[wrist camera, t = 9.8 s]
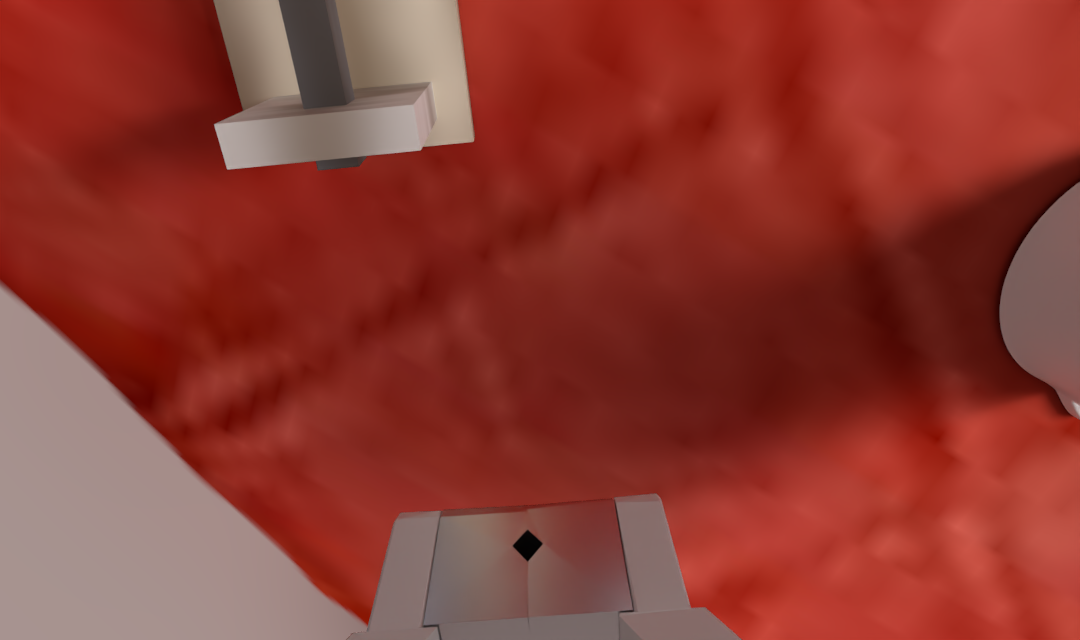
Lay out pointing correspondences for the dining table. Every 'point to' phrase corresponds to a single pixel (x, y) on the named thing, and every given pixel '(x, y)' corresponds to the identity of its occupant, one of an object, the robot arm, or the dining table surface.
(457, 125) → the linear slide rail
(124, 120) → the dining table surface
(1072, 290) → the robot arm
